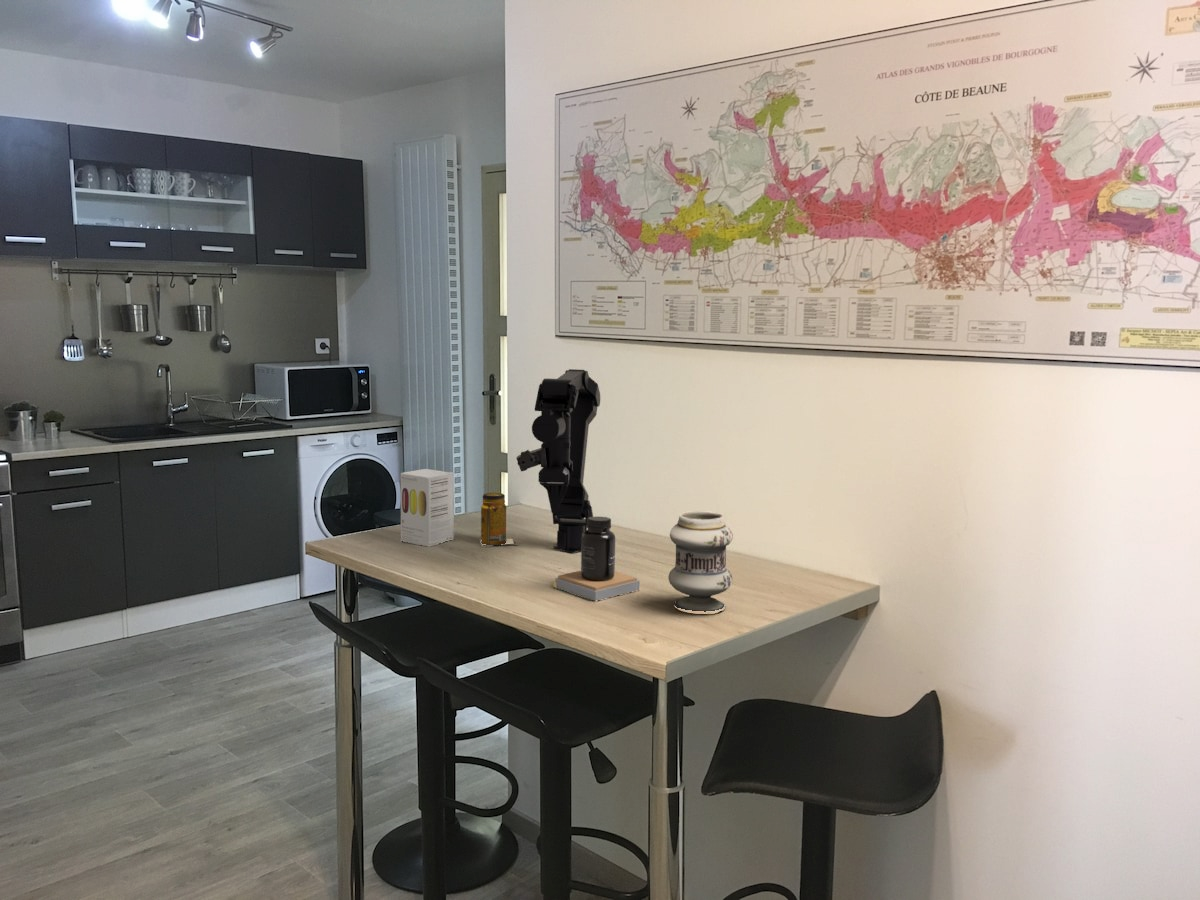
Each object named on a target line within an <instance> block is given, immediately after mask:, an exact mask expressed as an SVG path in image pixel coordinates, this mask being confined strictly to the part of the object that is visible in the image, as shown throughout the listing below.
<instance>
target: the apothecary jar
mask: <svg viewBox="0 0 1200 900" xmlns="http://www.w3.org/2000/svg"><path fill="white" fill-rule="evenodd" d="M733 535H734V534H733V532H732V530H731V529H730V528H729V527H728V526H727V525H726V521H725V516H724V514H722V513H720V512H715V511H707V510H693V511H692V510H691V511H690V510H689V511H684V512H681V513H680V514H679V516H678V520H677V523H676V524H674V526H672V528H671V529H670V531H669V537H670V540H671V542H672V543H673V544H674V545H675V566H674V567H672V568H671V570H670V571H669V573H668V576H667V577H668V582H669V584H670V585H671V587H673V588H674V590H675V591H678V592H679V593H681V594H683V595H688V596H684V597H680V598H678V599H676V600H675V601H676V603H675V602H674V604H673V605H675V606H676V607H677V608H681V609H685V610H692V611H704V612H706V611H715V610H719V609H722V608H723V607H724V605H725V604H724V602H722V601H721V600H718V599H717V598H715V597H713V596H716V595H720V594H721V593H723V592H724V593H725V592H726V591H727V590H728V589H730V587H731V586H732V584H733V576H732V573H731V571H730V570H729V569H728V568H727V559H726V558H727V555H726V554H727V546H728V545H730V544H731V542H732V541H733V539H734V536H733Z"/></svg>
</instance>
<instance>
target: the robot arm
mask: <svg viewBox="0 0 1200 900" xmlns="http://www.w3.org/2000/svg"><path fill="white" fill-rule="evenodd" d="M564 372H565V373H563V374H561V375H560V376H559V377H557V378H548V377H547V378H543V379H542V381H541V383H540V384H539V385H538V389H537V395H536V400H535V404H534V412H541V413H540V415H539V416H537V417H536V418H534V420H533V422H532V424H531V433H532V435H533V437H534V438H535V439H536V440H537V441H539V442H541V445H540V446H541V447H540V448H537V449H533V450H531V451H530V450H529V449H527V450H525V451H521V452H520V454H518V455H517V456H516V457H515V458H516V461H517V466H518V467H519V469H520V472H525V471H527V470H528V469H531V468H534V467H537V466H540V468H541V469H540V470H539V472H538V483H539V485H541V486H542V487H543V488H544V489H545V490H546V492H547V493H546V494H547V497H548V501H549V507H550V511H551V514H552V523H553V525H558V530H557V531H556V532H557V533H556V534H557V535H556V543H557V544H556V545H553V549H556V550H560V551H563V552H566V553H569V554H573V553H579V552H581V539H582V534H583V533H584V532H585V531H587V530H588V528H587V527H586V525H587V518H589V517H594V514H593V513H594V512H593V506H591V502H590V499H589V497H590V495H589V494H588V491H587V489H586V488H585V485H584V478H585V466H586V456H587V446H588V437H589V425H590V423H592V422H593V420H594V419H595V418H596V417H597V413H598V412H597V411H598V407H600V405H601V392H600V387H599V384H598V383H597V382H596V381H595V380H593V379H592V378H591V377H590V376H589V372H588V370H585V369H577V368H576V369H573V368H572V369H570V368H569V369H566V370H565V371H564Z"/></svg>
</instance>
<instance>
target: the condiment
mask: <svg viewBox="0 0 1200 900" xmlns="http://www.w3.org/2000/svg"><path fill="white" fill-rule="evenodd" d="M505 498H506V496H505V494H504V493H502V492H485V493H484V494H483V495H482V504H481V506H480V509H481V510H480V511H481V512H480V532H481V533H480V540H482V541H481V543H482V544H486V545H501V544H505V543H506V539H507V506H506V501H505ZM515 543H516V542H515ZM515 543H514V544H507V545H506V546H513V545H518V544H517V543H516V544H515ZM480 546H481V547H484V546H483V545H481V544H480ZM501 546H502V545H501Z"/></svg>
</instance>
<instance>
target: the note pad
mask: <svg viewBox="0 0 1200 900" xmlns="http://www.w3.org/2000/svg"><path fill="white" fill-rule="evenodd" d="M554 579H555V580H554V581H553V588H554V587H555V588H554V589H557V588H558V589H557V590H560V589H561V590H560V591H562V590H564V591H563V592H565V591H567V592H566V593H568V592H570V593H569V594H571V593H573V594H572V595H574V594H576V595H575V596H577V595H579V596H578V597H580V596H582V597H581V598H583V597H585V598H584V599H586V598H588V599H587V600H589V599H591V600H590V601H592V600H595V601H596V600H601V599H604V600H606V599H605V598H608V599H610V598H609V597H612V598H614V597H613V596H616V597H618V596H617V595H620V596H622V595H621V594H624V595H626V594H625V593H628V592H632V591H635V592H637V591H636V590H639V591H640V582H641V581H640V580H639V579H638V578H637V577H635V576H632V575H628V574H626V573H622V572H618V571H616V570H615V574H614V577H613V578H612V579H610V580H606V581H592V580H587V579H584V578H583V577H582V576H581V570H577V571H572V572H568V573H563V574H559V575H557V578H554ZM632 593H633V592H632ZM628 594H629V593H628ZM595 601H594V602H595ZM601 601H602V600H601Z"/></svg>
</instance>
